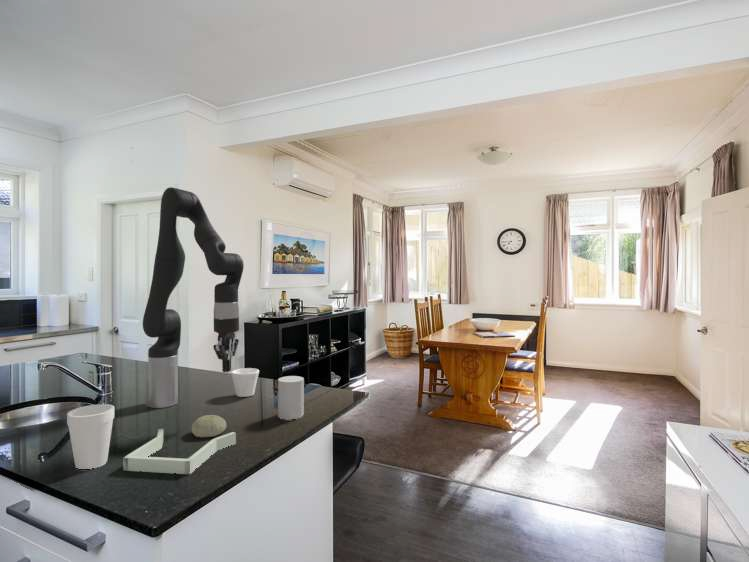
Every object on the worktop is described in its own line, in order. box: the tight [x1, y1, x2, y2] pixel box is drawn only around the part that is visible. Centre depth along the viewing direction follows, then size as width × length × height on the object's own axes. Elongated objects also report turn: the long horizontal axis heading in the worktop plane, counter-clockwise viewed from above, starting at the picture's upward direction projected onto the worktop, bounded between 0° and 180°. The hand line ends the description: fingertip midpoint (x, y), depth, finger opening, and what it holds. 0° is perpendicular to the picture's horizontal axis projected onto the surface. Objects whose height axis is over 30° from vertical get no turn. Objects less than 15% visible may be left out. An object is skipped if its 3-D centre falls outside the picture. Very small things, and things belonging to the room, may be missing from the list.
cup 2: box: [277, 375, 305, 421], centre depth 135 cm, size 8×8×12 cm
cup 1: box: [231, 367, 260, 398], centre depth 157 cm, size 10×10×9 cm
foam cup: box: [66, 403, 115, 470], centre depth 100 cm, size 10×9×13 cm
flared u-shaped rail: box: [122, 428, 237, 475], centre depth 105 cm, size 22×18×3 cm
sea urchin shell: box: [191, 414, 227, 438], centre depth 120 cm, size 9×8×8 cm
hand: (226, 371), depth 131 cm, fingers closed
